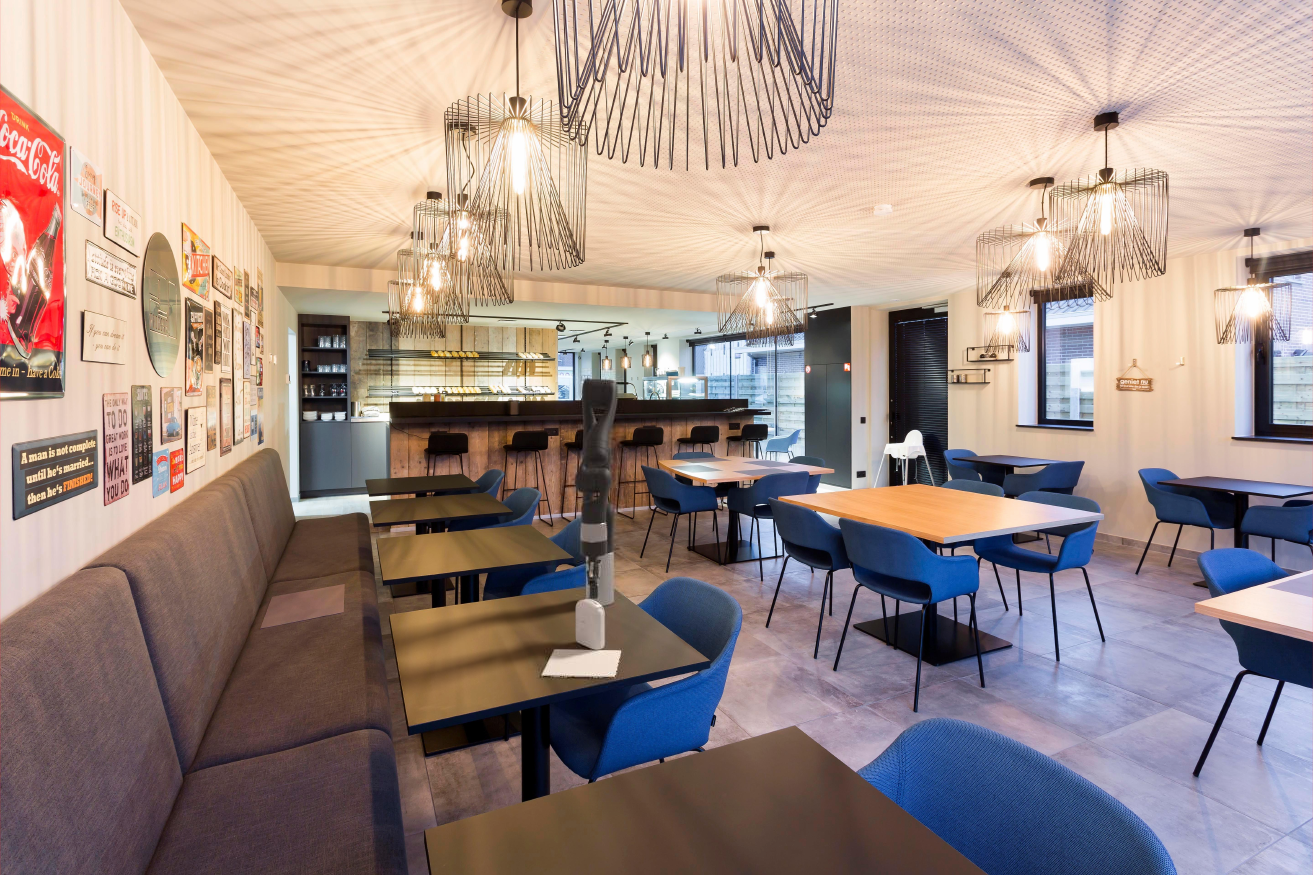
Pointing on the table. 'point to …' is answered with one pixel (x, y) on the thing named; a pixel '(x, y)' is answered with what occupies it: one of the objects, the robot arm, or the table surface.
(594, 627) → the photo printer
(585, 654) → the mat
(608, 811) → the table surface
